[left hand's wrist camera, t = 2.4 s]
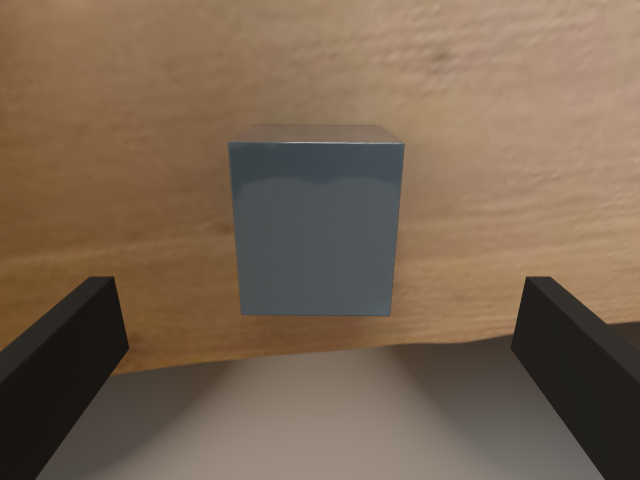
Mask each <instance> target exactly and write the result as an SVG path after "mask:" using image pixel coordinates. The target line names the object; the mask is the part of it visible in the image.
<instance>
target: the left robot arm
mask: <svg viewBox="0 0 640 480" xmlns="http://www.w3.org/2000/svg"><path fill="white" fill-rule="evenodd" d="M128 349H129V345H128V340H127V335H126V331H125V326H124V322H123V317H122V312H121V308H120V303H119V298H118V294H117V289H116V284H115V280H114V277H89V278H88V279H86V280H85V281H84V282H83V283H82V284H80V285H79V286H78V287H77V288H76V289H74V290H73V291H72V292H71V293H70V294H69V295H67V296H66V297H65V298H64V299H63V300H61V301H60V302H59V303H58V304H57V305H55V306H54V307H53V308H52V309H51V310H50V311H48V312H47V313H46V314H45V315H44V316H42V317H41V318H40V319H39V320H38V321H36V322H35V323H34V324H33V325H32V326H31V327H29V328H28V329H27V330H26V331H25V332H23V333H22V334H21V335H20V336H19V337H18V338H16V339H15V340H14V341H13V342H12V343H10V344H9V345H8V346H7V347H6V348H4V349H3V350H2V351H1V352H0V480H35V479H36V478H37V476H38V475H39V473H40V472H41V471H42V469H43V468H44V466H45V465H46V464H47V462H48V461H49V459H50V458H51V457H52V455H53V454H54V453H55V451H56V450H57V448H58V447H59V446H60V444H61V443H62V441H63V440H64V439H65V437H66V436H67V434H68V433H69V432H70V430H71V429H72V427H73V426H74V425H75V423H76V422H77V420H78V419H79V418H80V416H81V415H82V413H83V412H84V411H85V409H86V408H87V407H88V405H89V404H90V402H91V401H92V400H93V398H94V397H95V395H96V394H97V393H98V391H99V390H100V388H101V387H102V386H103V384H104V383H105V381H106V380H107V379H108V377H109V376H110V374H111V373H112V372H113V370H114V369H115V367H116V366H117V365H118V363H119V362H120V361H121V359H122V358H123V356H124V355H125V354H126V352H127V351H128ZM511 349H512V351H513V352H514V353H515V355H516V356H517V358H518V359H519V361H520V362H521V363H522V365H523V366H524V368H525V369H526V370H527V372H528V373H529V374H530V376H531V377H532V379H533V380H534V381H535V383H536V384H537V386H538V387H539V388H540V390H541V391H542V393H543V394H544V395H545V397H546V398H547V400H548V401H549V402H550V404H551V405H552V407H553V408H554V409H555V411H556V412H557V413H558V415H559V416H560V418H561V419H562V420H563V422H564V423H565V425H566V426H567V427H568V429H569V430H570V431H571V433H572V434H573V436H574V437H575V439H576V440H577V441H578V443H579V444H580V446H581V447H582V448H583V450H584V451H585V452H586V454H587V455H588V457H589V458H590V459H591V461H592V462H593V464H594V465H595V466H596V468H597V469H598V471H599V472H600V473H601V475H602V476H603V477H604V479H605V480H640V352H639V351H638V350H637V349H635V348H634V347H633V346H632V345H631V344H630V343H628V342H627V341H626V340H625V339H624V338H622V337H621V336H620V335H619V334H618V333H616V332H615V331H614V330H613V329H612V328H611V327H609V326H608V325H607V324H606V323H605V322H604V321H602V320H601V319H600V318H599V317H598V316H596V315H595V314H594V313H593V312H592V311H590V310H589V309H588V308H587V307H586V306H585V305H583V304H582V303H581V302H580V301H579V300H577V299H576V298H575V297H574V296H573V295H571V294H570V293H569V292H568V291H567V290H566V289H564V288H563V287H562V286H561V285H560V284H558V283H557V282H556V281H555V280H554V279H552V278H551V277H526V280H525V284H524V289H523V294H522V298H521V303H520V308H519V312H518V317H517V322H516V326H515V331H514V335H513V340H512V345H511Z"/></svg>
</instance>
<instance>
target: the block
mask: <svg viewBox="0 0 640 480" xmlns="http://www.w3.org/2000/svg"><path fill="white" fill-rule="evenodd" d="M404 146H405V144H404V143H403V142H402V141H401V140H399V139H398V138H397V137H395V136H394V135H392V134H391V133H390V132H388V131H387V130H386V129H384V128H383V127H381V126H327V125H253V126H252V127H250V128H249V129H247V130H246V131H244V132H242V133H241V134H239V135H238V136H236V137H235V138H233V139H232V140H230V141H229V142H228V151H229V164H230V177H231V190H232V203H233V215H234V228H235V241H236V254H237V267H238V280H239V292H240V305H241V315H304V316H390V311H391V299H392V287H393V275H394V264H395V252H396V240H397V228H398V217H399V205H400V193H401V181H402V170H403V158H404Z"/></svg>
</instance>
